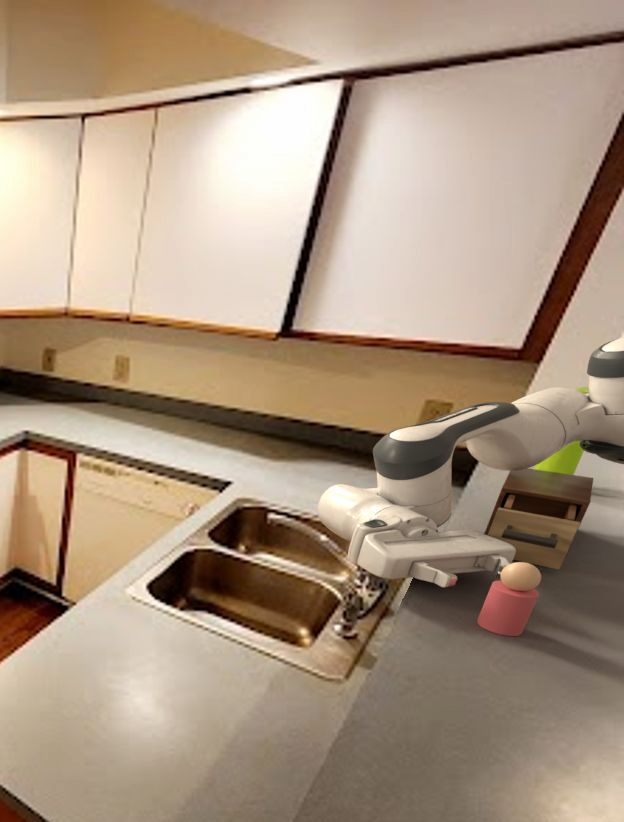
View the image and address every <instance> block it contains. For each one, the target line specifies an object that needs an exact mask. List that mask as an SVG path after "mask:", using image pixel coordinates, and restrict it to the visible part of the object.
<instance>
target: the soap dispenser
mask: <svg viewBox="0 0 624 822" xmlns="http://www.w3.org/2000/svg"><path fill="white" fill-rule="evenodd" d="M588 387H589V386H588ZM588 387H587V386H583V387H581V386H580V387H575V388H574V389H575V390H578V391H580V392H582V393H584V394H587V393H588ZM584 452H585V451H584V450H583V449H582V448H581V447H580V441H577V442H573V443H571V444H569V445H567V446H566V447H564V448H563V449H561V450H560V451H558V452H557V453H555V454H554V455H552V456H551V457H549V458H548V459H546V460H544V461H543V462H541V463H539V464H537V465H535V466H533V469H535V470H542V471H549V472H556V473H563V474H570V475H575V472H576V470H577V467H578V465H579V463H580V460H581V458H582V456H583V454H584Z"/></svg>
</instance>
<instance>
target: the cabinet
mask: <svg viewBox="0 0 624 822" xmlns="http://www.w3.org/2000/svg"><path fill="white" fill-rule="evenodd" d="M593 485H594V477H589V476H582V475H576V474H574V475H570V474H563V473H556V472H549V471H542V470H535V469H534V468H526V469H522V470H516V471H508V474H507V476H506V478H505V480H504V483H503V485H502V487H501V489H500V492H499V494H498V497H497V500H496V502H495V505H494V508H493V510H492V513H491V515H490V518H489V520H488V523H487V525H486V529H485V531H484V533H483V534H485V535H488V533H489V531H490V528H491V525H492V523H493V520H494V518H495V515H496V512H497V510H498V508H504V506H505V504H506V502H507V499H508V497H509V495H510V493H514V494H520V495H526V496H532V497H538V498H543V499H549V500H555V501H561V502H567V503H573V504H577V508H576V514H575V519H574V521H577V522H580V525H579V527H578V529H577V531H576V534H575V536H574V538H573V540H572V542H571V545H572V544H573V541H574V539H575V537H576V535H577V533H578V531H579V528H580V526H581V524H582V522H583V519H584V517H585V515H586V513H587V511H588V508H589V506H590V505H591V499H592V492H593ZM571 545H570V547H569V549H568V551H567V553H566V556H567V554H568V552H569V551H570V549H571Z"/></svg>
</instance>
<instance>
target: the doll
mask: <svg viewBox="0 0 624 822" xmlns="http://www.w3.org/2000/svg"><path fill="white" fill-rule="evenodd" d="M500 577H501V579H499V580H495V581H493V582H491V585H490V588H489V590H488V593H487V595H486V598H485V600H484V602H483V606H482V607H481V609H480V612H479V615H478V617H477V620H476V622H477V624H478V626H479V627H481V628H482V629H485V630H486V631H488V632H491V633H493V634H497V635H501V636H505V637H506V636H507V637H518V636H521V635H522V634H523V632H524V630H525V627H526V626H527V623H528V621H529V618H530V617H531V615H532V612H533V609H534V607H535V605H536V603H537V601H538V599H539V596H540V592H539V591H538V589H536V587H538V586H539V585H540V583H541V580H542V574H541V572H540V569H538V568H537V567H536V566H535V565H534V564H531V563H526V562H522V561H518V562H512V563H511V564H509V565H507V566H506V567H505V568H503V570H502V571H501V575H500Z"/></svg>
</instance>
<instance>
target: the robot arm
mask: <svg viewBox="0 0 624 822" xmlns="http://www.w3.org/2000/svg"><path fill="white" fill-rule="evenodd" d="M586 374H587V375H588V393H587V394H584V393H582V392H580V391H578V390H575V388H572V387H565V386H556V387H555V386H554V387H548V388H546V389H542V390H539V391H536V392H532V393H531V394H528V395H526V396H523V397H520V398H518V399H516V400H514V401H512V402H504V401H503V402H502V401H487V402H486V401H485V402H481V403H477V404H473V405H470V406H466V407H464V408H460V409H458V410H455V411H452V412H449V413H447V414H443V415H442V416H439V417H436V418H433V419H431V420H428V421H424V422H422V423H417V424H414V425H408V426H403V427H399V428H396V429H394V430H391V431H389V432H388V433H387V434H385V435H384V436H382V438H381V439H380V440H379V441H377V442H376V444H375V445H374V447H373V448H372V455H373V461H374V462H373V463H374V467H375V470H376V481H377V487H371V488H359V487H356V486H353V485H350V484H343V483H339V484H334V485H331V486H330V487H328V489H326V490H324V492H323V493H322V495H321V496H320V498H319V500H318V503H317V517H318V519H319V521H320V522H321V524H323V525H324V526H325V527H326V529H328V530H329V531H331V532H332V533H334V534H335V535H336V536H338V537H340V538H341V539H343V540H345V541H347V542H349V545H348V551H347V556H346V559H347V561H348V562H349V563H352V564H353V565H357V566H359V567H360V568H362V569H363V570H365V571H367V572H368V573H370V574H372V575H374V576H376V577H378V578H382V579H386V580H398V579H399V580H400V579H409V578H415V579H417V580H420V581H425V582H429V583H433V584H435V585H437V586H439V587H440V588H451V587H455V586H456V582H457V581H458V576H457V574H465V573H475V572H476V573H477V572H488V571H489V572H496V575H495V577H496V578H497V579H499V580H501V577H500V575H501V571H502V570H503V568H505V567H506V566H507V565H509V564H512V563H513V561H514V560H513V558H514V556H515V553H516V549H515V547H514V546H513V545H511V544H509V543H507V542H504V541H501V540H499V539H496V538H493V537H490V536H488V535H485V534H484V533H481V532H479V531H475V530H467V529H457V530H447V531H445V530H444V531H439V530H438V529H439V527H442V526H443V525H444V524H445V523H446V522H448V521H449V520H450V518H451V516H452V510H453V509H452V508H453V490H452V463H453V462H452V461H453V455H454V452H455V449H456V447H457V446H458V445H460V444H462V443H465V445H466V449H467V451H468V452H469V454H470V456H472V457H473V458H474V459H475V460H476V461H478V462H479V463H481V464H482V465H484V466H487V467H489V468H491V469H495V470H499V471H508V472H510V471H516V470H522V469H526V468H528V469H530V468H533V467H535V465H537V464H539V463H541V462H543V461H544V460H546V459H548V458H549V457H551V456H552V455H554V454H555V453H557V452H558V451H560V450H561V449H563V448H564V447H566V446H567V445H569V444H571V443H573V442H577V441H580V447H581V448H582V449H583V450H584V452H586V453H587V454H588V453H589V454H591V455H596V456H598V457H599V458H600V459H603V460H605V461H609V462H612V463H615V464H620V465H624V336H623V337H620V338H617V339H612V340H611V341H608V342H606V343H604V344H602V345H600V346H599V347H597V348H596V349H595V350H594V351H592V352H591V354H590V356H589V358H588V363H587V369H586Z"/></svg>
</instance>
